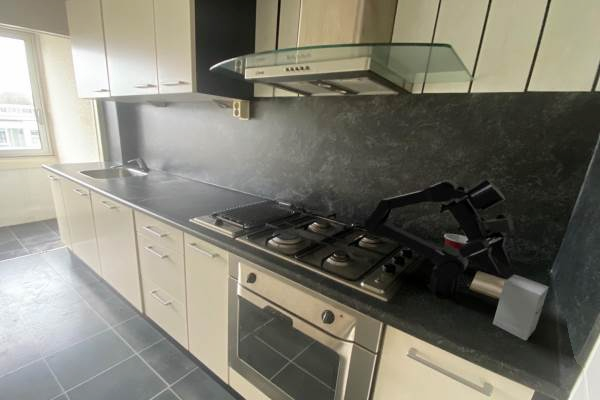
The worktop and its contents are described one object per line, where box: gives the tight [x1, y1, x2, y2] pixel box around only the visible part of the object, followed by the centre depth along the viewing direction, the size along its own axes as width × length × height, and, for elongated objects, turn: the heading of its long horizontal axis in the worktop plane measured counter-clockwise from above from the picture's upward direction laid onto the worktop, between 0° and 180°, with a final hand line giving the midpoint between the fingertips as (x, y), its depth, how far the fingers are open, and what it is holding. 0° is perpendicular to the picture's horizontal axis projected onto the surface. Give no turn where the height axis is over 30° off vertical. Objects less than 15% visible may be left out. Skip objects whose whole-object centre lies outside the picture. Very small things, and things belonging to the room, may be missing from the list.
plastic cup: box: [443, 233, 470, 257], centre depth 100 cm, size 11×11×12 cm
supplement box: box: [492, 274, 550, 341], centre depth 69 cm, size 7×7×13 cm
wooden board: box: [469, 270, 507, 301], centre depth 88 cm, size 15×15×1 cm
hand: (503, 270), depth 71 cm, fingers open, 9 cm apart
